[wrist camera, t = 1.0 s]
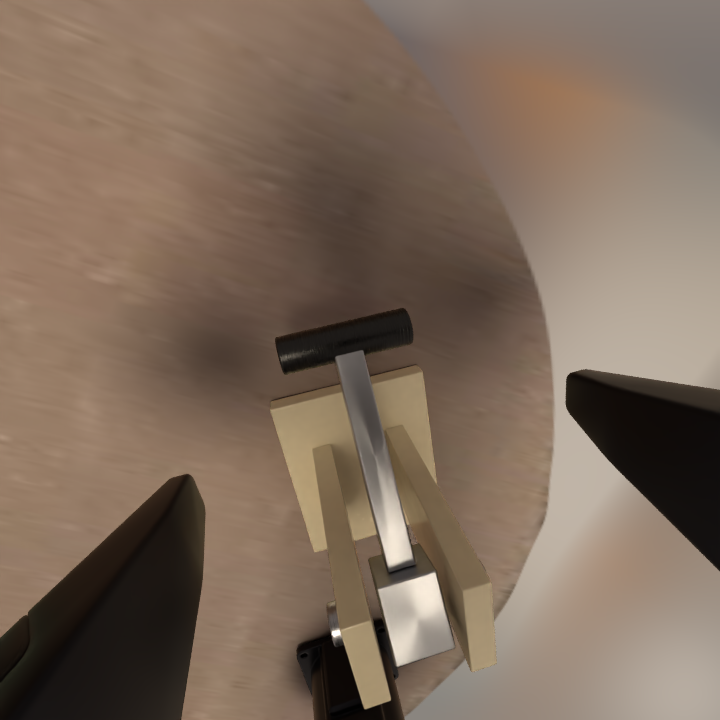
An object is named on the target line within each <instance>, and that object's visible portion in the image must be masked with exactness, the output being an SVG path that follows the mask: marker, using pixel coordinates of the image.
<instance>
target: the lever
mask: <svg viewBox="0 0 720 720" xmlns="http://www.w3.org/2000/svg"><path fill="white" fill-rule="evenodd" d="M275 343H276V349H277V353H278V357H279V361H280V365H281V368H282V371H283V373H284V374H285V375H287V374H291V373H295V372H299V371H303V370H308V369H312V368H316V367H320V366H324V365H328V364H332V363H335V366H336V370H337V374H338V378H339V382H340V386H341V390H342V394H343V398H344V402H345V406H346V410H347V415H348V419H349V423H350V427H351V431H352V435H353V439H354V443H355V447H356V451H357V455H358V459H359V463H360V467H361V471H362V475H363V480H364V484H365V488H366V492H367V496H368V500H369V504H370V508H371V512H372V516H373V520H374V524H375V528H376V532H377V536H378V540H379V545H380V549H381V553H382V555H378V556H375V557H372V558H369V560H368V561H369V565H370V569H371V573H372V577H373V581H374V586H375V590H376V594H377V598H378V602H379V606H380V610H381V614H382V618H383V622H384V626H385V630H386V634H387V637H388V641H389V645H390V649H391V652H392V656H393V660H394V664H395V666H396V667H401V666H404V665H407V664H410V663H413V662H416V661H419V660H422V659H425V658H428V657H431V656H434V655H437V654H440V653H443V652H446V651H449V650H452V649H454V648H455V642H454V638H453V634H452V630H451V626H450V622H449V618H448V614H447V610H446V606H445V602H444V598H443V594H442V590H441V586H440V582H439V578H438V574H437V571H436V569H435V567H434V566H433V564H432V562H431V561H430V559H429V558H428V556H427V554H426V553H425V551H424V549H423V548H422V546H421V545H420V544H419V543H418V544H415V545H412V544H411V540H410V536H409V532H408V528H407V524H406V520H405V516H404V512H403V508H402V504H401V500H400V496H399V492H398V488H397V484H396V480H395V476H394V472H393V468H392V464H391V459H390V455H389V451H388V447H387V443H386V439H385V435H384V431H383V427H382V423H381V419H380V415H379V411H378V407H377V403H376V399H375V395H374V391H373V387H372V383H371V379H370V375H369V371H368V367H367V363H366V359H365V355H369V354H373V353H377V352H381V351H385V350H389V349H394V348H398V347H402V346H406V345H410V344H412V343H413V328H412V323H411V320H410V317H409V315H408V313H407V311H406V309H405V308H400V309H395V310H391V311H387V312H382V313H378V314H374V315H370V316H365V317H361V318H357V319H352V320H348V321H344V322H340V323H335V324H331V325H327V326H322V327H318V328H314V329H309V330H305V331H301V332H297V333H292V334H288V335H284V336H279V337H276V338H275Z"/></svg>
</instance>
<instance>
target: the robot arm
mask: <svg viewBox="0 0 720 720" xmlns="http://www.w3.org/2000/svg"><path fill="white" fill-rule="evenodd" d="M566 407H567V410H568V412H569V413H570V415H571V416H572V417H573V418H574V420H575V421H576V422H577V423H578V424H579V426H580V427H581V428H582V429H583V430H584V431H585V433H586V434H587V435H588V436H589V438H590V439H591V440H592V441H593V442H594V444H595V445H596V446H597V447H598V449H599V450H600V451H601V452H602V453H603V454H604V455H605V457H606V458H607V459H608V460H609V461H610V462H611V463H612V464H613V465H614V466H615V468H616V469H617V470H618V471H620V473H622V475H624V476H625V477H626V478H627V479H628V480H629V481H630V482H631V483H632V484H633V485H634V486H635V487H636V488H637V489H638V490H639V491H640V492H641V493H642V494H643V495H644V496H645V497H646V498H647V499H648V500H649V501H650V502H651V503H652V504H653V505H654V506H655V507H656V508H657V509H658V510H659V511H660V512H661V513H662V514H663V515H664V516H665V517H666V518H667V519H668V520H669V521H670V522H671V523H672V524H673V525H674V526H675V527H676V528H677V529H678V530H679V531H680V532H681V533H682V534H683V535H684V536H685V537H686V538H687V539H688V540H689V541H690V542H691V543H692V544H693V545H694V546H695V547H696V548H697V549H698V550H699V551H700V552H701V553H702V554H703V555H704V556H705V557H706V558H707V559H708V560H709V561H710V562H711V563H712V564H713V565H714V566H715V567H716V568H717V569H718V570H719V571H720V390H717V389H711V388H704V387H698V386H691V385H685V384H678V383H672V382H665V381H659V380H652V379H646V378H639V377H633V376H626V375H620V374H613V373H607V372H600V371H594V370H587V369H585V370H580V371H576V372H572V373H570V374H569V375H568V376H567V379H566ZM204 538H205V505H204V502H203V500H202V497H201V495H200V493H199V490H198V488H197V486H196V483H195V481H194V479H193V477H192V476H191V475H189V474H185V475H181V476H177V477H173V478H171V479H169V480H168V481H167V482H166V483H165V484H164V485H163V486H162V487H160V488H159V489H158V490H157V491H156V492H155V493H154V494H153V495H152V496H151V497H150V498H149V499H148V500H147V501H146V502H145V503H143V504H142V505H141V506H140V507H139V508H138V509H137V510H136V511H135V512H134V513H133V514H132V515H131V516H130V517H129V518H127V519H126V520H125V521H124V522H123V523H122V524H121V525H120V526H119V527H118V528H117V529H116V530H115V531H114V532H113V533H111V534H110V535H109V536H108V537H107V538H106V539H105V540H104V541H103V542H102V543H101V544H100V545H99V546H98V547H97V548H96V549H94V550H93V551H92V552H91V553H90V554H89V555H88V556H87V557H86V558H85V559H84V560H83V561H82V562H81V563H80V564H78V565H77V566H76V567H75V568H74V569H73V570H72V571H71V572H70V573H69V574H68V575H67V576H66V577H65V578H64V579H63V580H61V581H60V582H59V583H58V584H57V585H56V586H55V587H54V588H53V589H52V590H51V591H50V592H49V593H48V594H47V595H45V596H44V597H43V598H42V599H41V600H40V601H39V602H38V603H37V604H36V605H35V606H34V607H33V608H32V609H31V610H30V611H29V612H28V616H27V615H25V616H23V617H22V618H21V619H20V620H19V621H18V622H17V623H16V624H14V625H13V626H12V627H11V628H10V629H9V630H8V631H7V632H6V633H5V634H4V635H3V636H2V637H1V638H0V720H181V716H182V710H183V703H184V697H185V691H186V684H187V678H188V671H189V665H190V659H191V652H192V646H193V639H194V633H195V627H196V620H197V614H198V607H199V601H200V595H201V588H202V580H203V564H204ZM373 623H374V627H375V632H376V636H377V640H378V644H379V649H380V653H381V657H382V662H383V666H384V670H385V674H386V679H387V683H388V687H389V692H390V696H391V700H390V701H388V702H385V703H382V704H379V705H376V706H373V707H371V708H368V709H364V707H363V704H362V701H361V698H360V694H359V691H358V688H357V685H356V681H355V678H354V675H353V672H352V668H351V665H350V662H349V659H348V655H347V652H346V649H345V646H344V645H342V646H338V647H335V646H334V643H333V640H332V636H330V637H327V638H323V639H320V640H317V641H314V642H311V643H308V644H305V645H302V646H300V647H298V649H297V659H298V662H299V664H300V667H301V669H302V672H303V674H304V677H305V679H306V682H307V685H308V687H309V690H310V692H311V695H312V698H313V711H314V720H404V715H403V711H402V707H401V703H400V699H399V695H398V691H397V687H396V683H395V679H397V678H398V675H399V674H398V670H397V667H396V666H395V664H394V660H393V656H392V652H391V649H390V645H389V641H388V637H387V634H386V630H385V626H384V622H383V620H380V621H376V622H373Z"/></svg>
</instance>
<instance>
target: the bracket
mask: <svg viewBox="0 0 720 720" xmlns="http://www.w3.org/2000/svg"><path fill="white" fill-rule="evenodd" d="M370 379H371V383H372V387H373V391H374V395H375V399H376V403H377V407H378V411H379V415H380V419H381V423H382V427H383V431H384V435H385V439H386V443H387V447H388V451H389V455H390V459H391V464H392V468H393V472H394V476H395V480H396V484H397V488H398V492H399V496H400V500H401V504H402V508H403V512H404V516H405V520H406V524H407V525H410V526H411V528H412V531H413V533H414V535H415V538H416V540H417V543H419V544H420V545H421V546H422V548H423V549H424V551H425V553H426V554H427V556H428V558H429V559H430V561H431V562H432V564H433V566H434V567H435V569H436V571H437V574H438V578H439V582H440V586H441V590H442V594H443V598H444V602H445V606H446V610H447V614H448V617H449V620H450V622H451V624H452V627H453V629H454V632H455V634H456V636H457V639H458V641H459V644H460V646H461V648H462V651H463V653H464V656H465V658H466V661H467V663H468V665H469V667H470V670H471V672H475V671H477V670H480V669H484V668H486V667H489V666H492V665H495V664H496V663H497V660H496V645H495V630H494V614H493V598H492V583H491V580H490V578H489V577H488V575H487V573H486V570H485V568H484V566H483V564H482V563H481V561H480V560H479V559H478V557H477V555H476V554H475V552H474V550H473V548H472V547H471V545H470V543H469V541H468V540H467V538H466V536H465V534H464V532H463V531H462V529H461V527H460V525H459V524H458V522H457V520H456V518H455V517H454V515H453V513H452V511H451V509H450V508H449V506H448V504H447V502H446V501H445V499H444V497H443V495H442V493H441V492H440V490H439V488H438V486H437V479H436V471H435V464H434V456H433V448H432V440H431V432H430V424H429V416H428V408H427V400H426V392H425V384H424V376H423V372H422V370H421V369H420V368H419V367H418V366H417V365H414V366H410V367H406V368H402V369H398V370H394V371H390V372H386V373H382V374H378V375H374V376H370ZM270 412H271V415H272V419H273V422H274V425H275V428H276V431H277V435H278V438H279V441H280V444H281V448H282V451H283V454H284V457H285V460H286V464H287V467H288V470H289V473H290V476H291V480H292V483H293V486H294V489H295V493H296V496H297V499H298V502H299V505H300V509H301V512H302V515H303V518H304V521H305V525H306V528H307V531H308V534H309V538H310V541H311V544H312V547H313V550H314V552H315V553H316V552H319V551H322V550H326V549H327V550H328V556H329V563H330V569H331V576H332V583H333V589H334V596H335V601H332V602H329V603H327V616H328V622H329V627H330V632H331V636H332V640H333V643H334V646H335V647H338V646H342V645H344V646H345V649H346V652H347V655H348V659H349V662H350V665H351V668H352V672H353V675H354V678H355V681H356V685H357V688H358V691H359V694H360V698H361V701H362V704H363V707H364V709H368V708H371V707H373V706H376V705H379V704H382V703H385V702H388V701H390V700H391V696H390V692H389V687H388V683H387V679H386V674H385V670H384V666H383V662H382V657H381V653H380V649H379V644H378V640H377V636H376V632H375V627H374V623H373V619H372V614H371V610H370V606H369V602H368V597H367V593H366V589H365V585H364V580H363V576H362V572H361V567H360V563H359V559H358V555H357V550H356V546H355V542H354V541H356V540H360V539H363V538H366V537H370V536H373V535H377V532H376V528H375V524H374V520H373V516H372V512H371V508H370V504H369V500H368V496H367V492H366V488H365V484H364V480H363V475H362V471H361V467H360V463H359V459H358V455H357V451H356V447H355V443H354V439H353V435H352V431H351V427H350V423H349V419H348V415H347V410H346V406H345V402H344V398H343V394H342V390H341V386H340V384H338V385H334V386H330V387H326V388H322V389H318V390H314V391H310V392H306V393H302V394H298V395H294V396H290V397H286V398H282V399H278V400H274V401H271V402H270Z"/></svg>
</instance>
